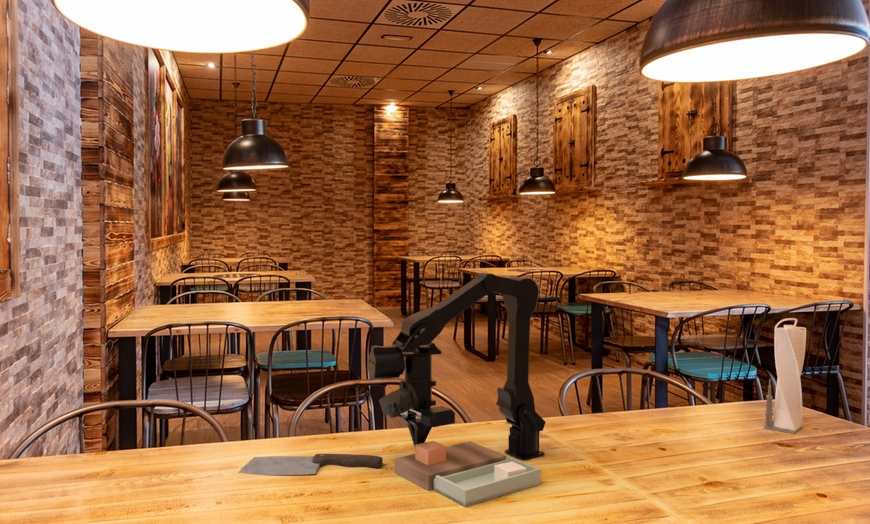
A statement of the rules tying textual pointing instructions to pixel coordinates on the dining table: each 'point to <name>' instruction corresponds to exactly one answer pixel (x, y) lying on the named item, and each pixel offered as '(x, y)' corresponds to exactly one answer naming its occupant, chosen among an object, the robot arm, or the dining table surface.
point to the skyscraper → (787, 379)
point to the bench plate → (446, 463)
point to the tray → (485, 483)
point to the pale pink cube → (507, 470)
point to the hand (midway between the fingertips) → (418, 449)
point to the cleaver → (306, 463)
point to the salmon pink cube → (430, 452)
